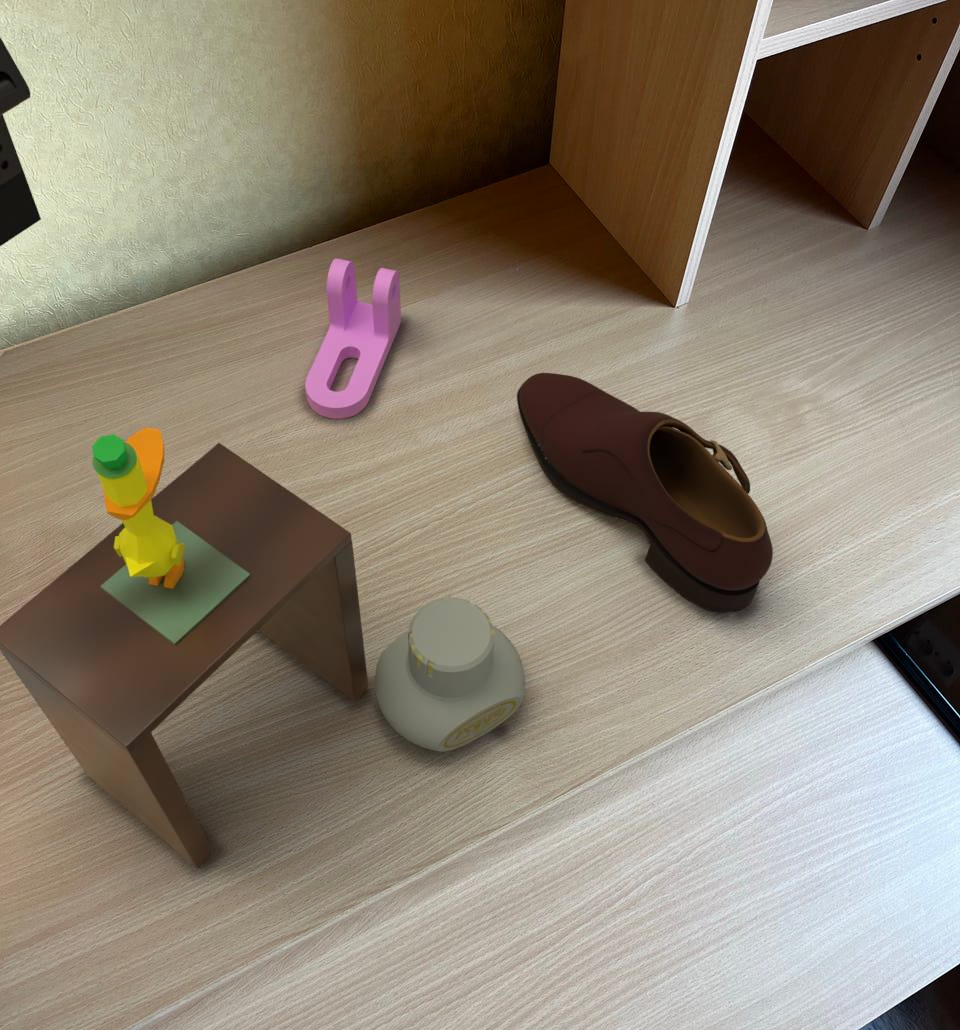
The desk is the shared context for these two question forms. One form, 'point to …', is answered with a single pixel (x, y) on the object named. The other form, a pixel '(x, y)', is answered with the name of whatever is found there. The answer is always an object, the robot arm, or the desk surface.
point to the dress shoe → (652, 486)
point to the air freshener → (449, 676)
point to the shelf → (185, 628)
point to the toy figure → (138, 504)
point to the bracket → (353, 340)
